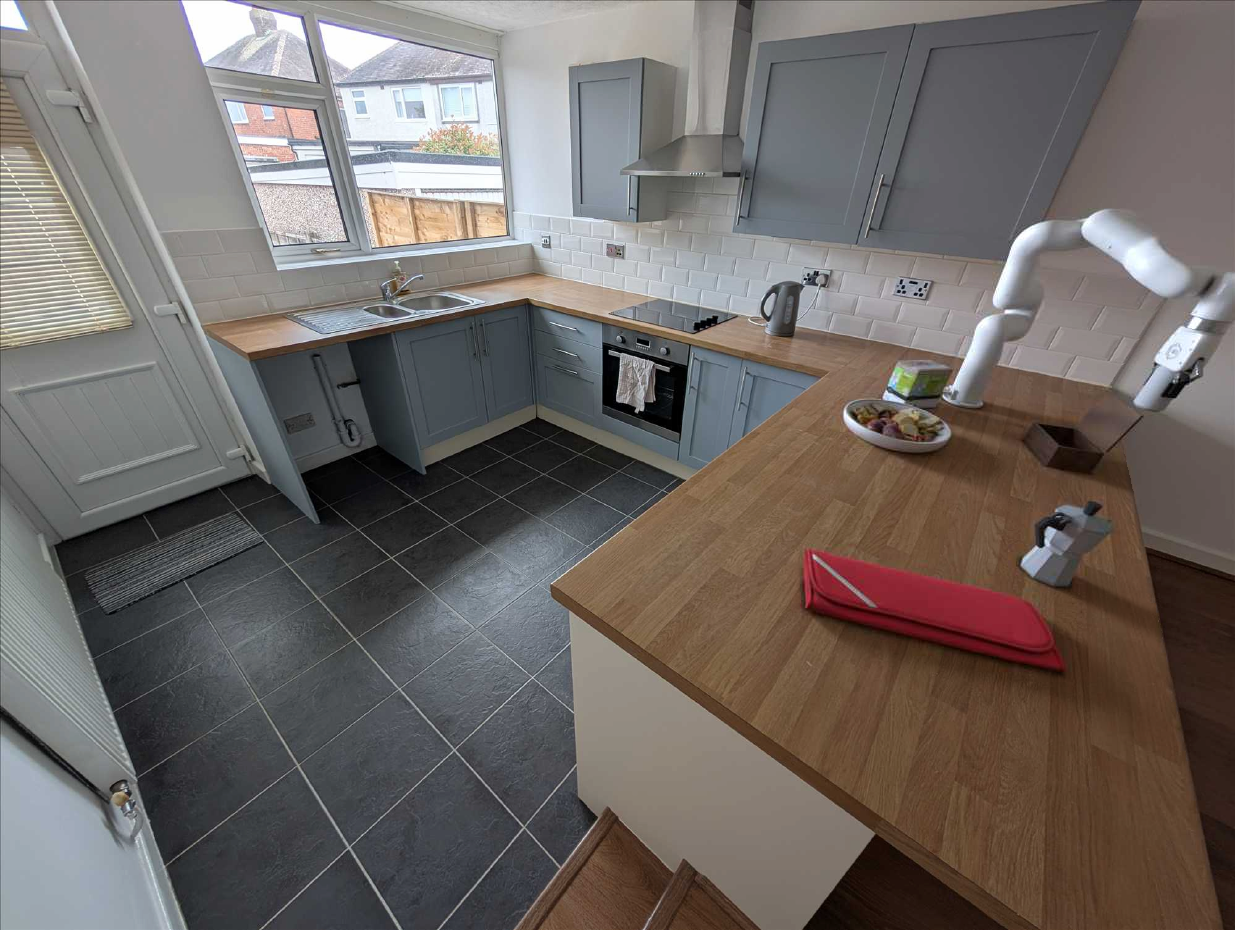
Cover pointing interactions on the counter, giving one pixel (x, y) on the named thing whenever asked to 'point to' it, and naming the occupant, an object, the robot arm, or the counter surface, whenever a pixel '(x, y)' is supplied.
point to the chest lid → (1108, 422)
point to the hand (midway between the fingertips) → (1158, 391)
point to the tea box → (917, 383)
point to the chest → (1063, 447)
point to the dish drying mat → (929, 609)
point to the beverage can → (1156, 390)
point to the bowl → (896, 425)
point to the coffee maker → (1065, 542)
